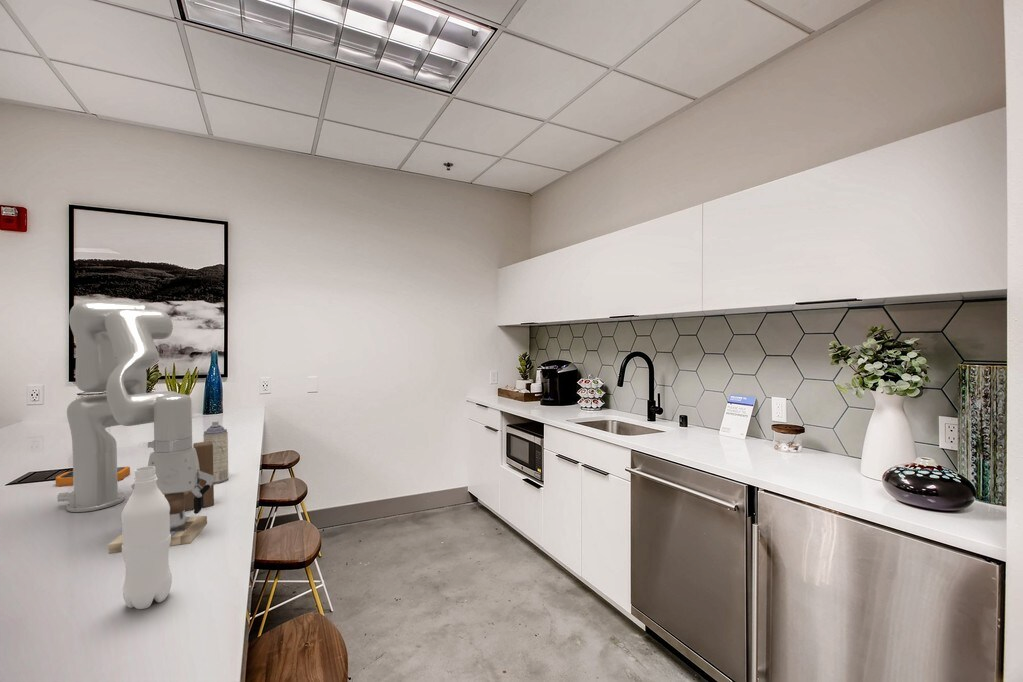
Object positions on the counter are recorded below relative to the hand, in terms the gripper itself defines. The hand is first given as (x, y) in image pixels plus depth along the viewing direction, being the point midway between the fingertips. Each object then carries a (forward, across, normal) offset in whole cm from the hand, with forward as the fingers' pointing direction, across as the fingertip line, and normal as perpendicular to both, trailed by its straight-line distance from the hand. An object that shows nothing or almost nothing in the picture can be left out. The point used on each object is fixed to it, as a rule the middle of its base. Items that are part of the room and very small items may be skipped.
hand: (175, 514), depth 114 cm
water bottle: (+5, +6, -31) cm, 32 cm away
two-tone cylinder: (+5, 0, 0) cm, 5 cm away
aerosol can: (+5, -3, +44) cm, 44 cm away
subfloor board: (+5, -3, 0) cm, 6 cm away
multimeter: (+6, -43, +58) cm, 72 cm away
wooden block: (+5, -2, +20) cm, 21 cm away
